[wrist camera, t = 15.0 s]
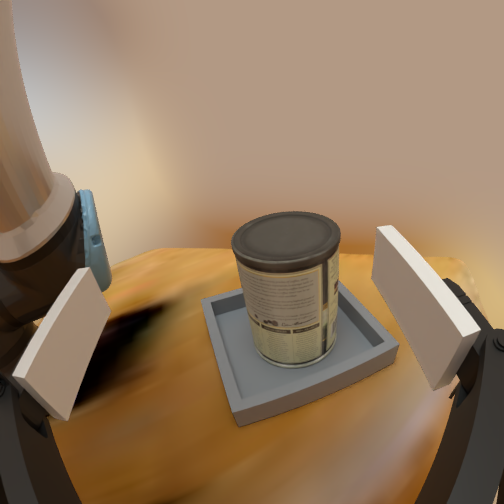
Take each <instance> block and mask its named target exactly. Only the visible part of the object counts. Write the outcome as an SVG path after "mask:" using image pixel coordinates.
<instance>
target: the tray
mask: <svg viewBox="0 0 504 504" xmlns="http://www.w3.org/2000/svg"><path fill="white" fill-rule="evenodd" d="M201 303H202V307H203V311H204V315H205V319H206V323H207V326H208V330H209V334H210V338H211V342H212V345H213V349H214V353H215V356H216V360H217V363H218V367H219V370H220V374H221V377H222V381H223V384H224V387H225V391H226V394H227V397H228V401H229V404H230V407H231V410H232V413H233V415H234V418H235V420H236V422H237V424H238V426H239V427H241V426H244V425H247V424H251V423H254V422H257V421H260V420H263V419H266V418H269V417H272V416H275V415H278V414H281V413H284V412H287V411H289V410H292V409H295V408H297V407H300V406H303V405H305V404H308V403H310V402H313V401H315V400H318V399H320V398H322V397H325V396H327V395H329V394H332V393H334V392H336V391H338V390H341V389H343V388H345V387H347V386H349V385H351V384H353V383H356V382H358V381H360V380H362V379H364V378H366V377H368V376H370V375H372V374H373V373H375V372H377V371H379V370H381V369H383V368H385V367H387V366H388V365H390V364H392V363H394V360H395V357H396V354H397V351H398V347H399V343H398V342H397V341H396V340H395V339H394V338H393V336H392V335H391V334H390V333H389V332H388V331H387V330H386V329H385V328H384V327H383V326H382V325H381V324H380V323H379V322H378V320H377V319H376V318H375V317H374V316H373V315H372V314H371V313H370V312H369V311H368V310H367V309H366V308H365V307H364V306H363V305H362V304H361V303H360V302H359V301H358V300H357V298H356V297H355V296H354V295H353V294H352V293H351V292H350V291H349V290H348V289H347V288H346V287H345V286H344V285H343V284H342V283H341V282H340V281H339V280H338V308H337V326H336V334H337V337H336V342H335V345H334V347H333V349H332V351H331V352H330V353H329V354H328V355H327V356H326V357H325V358H323V359H322V360H321V361H319V362H317V363H315V364H312V365H309V366H307V367H301V368H282V367H278V366H276V365H272V364H270V363H268V362H267V361H265V360H264V359H263V358H262V357H261V356H260V355H259V354H258V353H257V351H256V349H255V347H254V342H253V335H252V330H251V326H250V322H249V317H248V312H247V308H246V304H245V299H244V295H243V290H242V288H240V289H236V290H233V291H229V292H226V293H222V294H219V295H215V296H212V297H208V298H205V299H201Z"/></svg>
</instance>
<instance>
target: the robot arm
mask: <svg viewBox="0 0 504 504" xmlns="http://www.w3.org/2000/svg"><path fill="white" fill-rule="evenodd" d="M12 15H13V14H12V1H11V0H0V504H82V503H81V501H80V499H79V497H78V495H77V493H76V491H75V489H74V487H73V484H72V482H71V480H70V478H69V476H68V473H67V471H66V468H65V466H64V464H63V461H62V458H61V456H60V453H59V450H58V448H57V445H56V442H55V439H54V436H53V433H52V430H51V427H50V424H49V421H48V419H47V418H46V417H45V416H47V415H48V414H50V415H52V416H53V417H54V418H56V419H60V420H64V421H68V419H69V416H70V413H71V410H72V407H73V404H74V401H75V399H76V396H77V393H78V390H79V387H80V385H81V382H82V379H83V377H84V374H85V371H86V369H87V366H88V364H89V361H90V359H91V356H92V354H93V351H94V349H95V347H96V344H97V342H98V340H99V337H100V335H101V333H102V330H103V328H104V326H105V324H106V321H107V319H108V317H109V315H110V313H111V310H110V308H109V306H108V304H107V302H106V300H105V298H104V296H103V294H102V292H103V291H105V290H107V289H108V288H109V286H110V284H111V281H112V274H111V270H110V266H109V263H108V258H107V255H106V251H105V247H104V243H103V238H102V234H101V230H100V226H99V222H98V217H97V212H96V207H95V203H94V198H93V194H92V192H91V191H90V190H79V191H78V192H77V193H76V191H75V188H74V186H73V184H72V182H71V180H70V179H69V178H68V177H67V176H65V175H63V174H60V173H56V172H52V171H51V169H50V166H49V163H48V161H47V158H46V156H45V153H44V150H43V147H42V144H41V141H40V139H39V136H38V133H37V129H36V126H35V123H34V120H33V117H32V113H31V110H30V106H29V103H28V99H27V95H26V91H25V87H24V83H23V78H22V74H21V69H20V64H19V59H18V53H17V47H16V40H15V33H14V25H13V16H12ZM371 279H372V280H373V282H374V284H375V285H376V287H377V288H378V290H379V292H380V293H381V295H382V297H383V298H384V300H385V302H386V304H387V305H388V307H389V309H390V310H391V312H392V314H393V316H394V317H395V319H396V321H397V323H398V324H399V326H400V328H401V330H402V332H403V333H404V335H405V337H406V339H407V341H408V343H409V345H410V346H411V348H412V350H413V352H414V354H415V356H416V358H417V360H418V362H419V364H420V366H421V368H422V370H423V372H424V374H425V376H426V378H427V380H428V382H429V384H430V386H431V388H432V390H433V391H434V390H437V389H439V388H442V387H444V386H446V385H449V384H450V383H451V381H452V380H453V378H454V377H455V375H456V374H457V376H458V378H459V379H460V381H459V383H458V384H457V386H456V387H455V389H454V390H453V391H452V393H451V395H450V397H449V398H450V399H452V397H453V396H454V394H455V397H454V401H453V404H452V408H451V412H450V415H449V419H448V422H447V425H446V429H445V432H444V435H443V438H442V441H441V443H440V446H439V449H438V452H437V454H436V457H435V460H434V462H433V465H432V467H431V469H430V472H429V474H428V476H427V479H426V481H425V483H424V485H423V487H422V490H421V492H420V494H419V496H418V498H417V500H416V502H415V504H493V501H494V498H495V495H496V492H497V489H498V486H499V489H498V497H497V503H496V504H504V330H503V329H493V328H492V327H491V325H490V324H489V323H488V321H487V320H486V319H485V317H484V316H483V315H482V313H481V312H480V311H479V310H478V308H477V307H476V306H475V305H474V303H472V302H471V300H470V298H469V297H468V296H466V294H465V292H464V291H463V290H462V289H461V288H460V287H459V285H457V284H456V283H454V282H453V281H451V280H450V279H448V278H446V279H441V278H440V277H439V276H438V275H437V273H436V272H435V271H434V270H433V269H432V268H431V267H430V265H429V264H428V263H427V262H426V261H425V260H424V259H423V258H422V256H421V255H420V254H419V253H418V252H417V251H416V250H415V249H414V248H413V247H412V246H411V245H410V244H409V243H408V242H407V240H406V239H405V238H404V237H403V236H402V235H401V234H400V233H399V232H398V231H397V230H396V229H395V228H394V227H393V226H392V225H389V226H381V227H377V229H376V241H375V252H374V261H373V269H372V278H371ZM43 317H45V318H44V319H43V321H42V323H41V324H40V326H39V327H38V326H36V325H35V324H34V323H33V321H35V320H38V319H40V318H43Z"/></svg>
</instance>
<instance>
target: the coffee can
mask: <svg viewBox="0 0 504 504" xmlns="http://www.w3.org/2000/svg"><path fill="white" fill-rule="evenodd" d="M340 234H341V233H340V228H339V227H338V225H337V224H336V223H335V222H334V221H333V220H331V219H329V218H327V217H325V216H323V215H319V214H315V213H310V212H298V211H296V212H295V211H293V212H280V213H273V214H269V215H266V216H262V217H259V218H256V219H254V220H252V221H250V222H248V223H246V224H244V225H243V226H241V227H240V228H239V229H238V230H237V231H236V232H235V233H234V235H233V237H232V240H231V245H232V249H233V252H234V254H235V257H236V262H237V267H238V272H239V276H240V281H241V286H242V290H243V295H244V299H245V304H246V308H247V312H248V317H249V322H250V326H251V330H252V335H253V342H254V347H255V349H256V351H257V353H258V354H259V355H260V356H261V357H262V358H263V359H264V360H265V361H267V362H268V363H270V364H272V365H276V366H278V367H282V368H301V367H307V366H309V365H312V364H315V363H317V362H319V361H321V360H322V359H323V358H325V357H326V356H327V355H328V354H329V353H330V352H331V351H332V349H333V347H334V345H335V342H336V337H337V334H336V326H337V308H338V277H339V243H340Z"/></svg>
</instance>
